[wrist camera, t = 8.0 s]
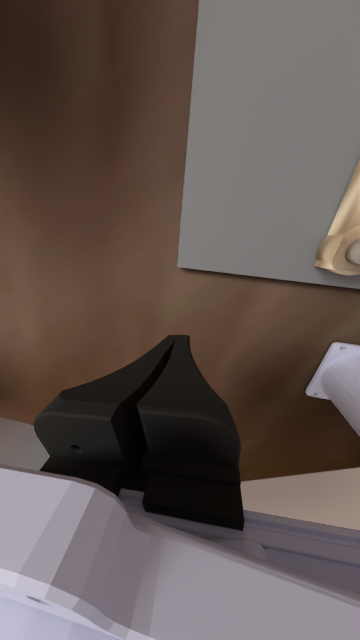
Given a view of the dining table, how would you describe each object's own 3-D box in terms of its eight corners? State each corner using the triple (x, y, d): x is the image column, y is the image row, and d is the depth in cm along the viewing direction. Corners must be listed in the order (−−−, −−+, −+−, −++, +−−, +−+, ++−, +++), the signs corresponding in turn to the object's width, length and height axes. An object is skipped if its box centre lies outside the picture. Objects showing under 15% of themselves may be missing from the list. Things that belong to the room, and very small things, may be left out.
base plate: (745, -297, 6) (832, -384, 6) (383, 290, 16) (394, 293, 15) (219, -207, 8) (221, -262, 8) (178, 265, 18) (177, 267, 17)
